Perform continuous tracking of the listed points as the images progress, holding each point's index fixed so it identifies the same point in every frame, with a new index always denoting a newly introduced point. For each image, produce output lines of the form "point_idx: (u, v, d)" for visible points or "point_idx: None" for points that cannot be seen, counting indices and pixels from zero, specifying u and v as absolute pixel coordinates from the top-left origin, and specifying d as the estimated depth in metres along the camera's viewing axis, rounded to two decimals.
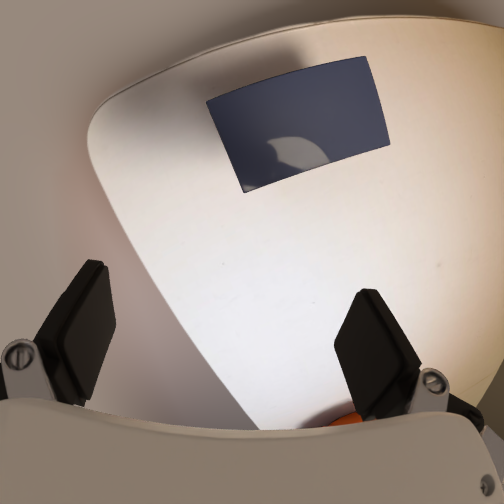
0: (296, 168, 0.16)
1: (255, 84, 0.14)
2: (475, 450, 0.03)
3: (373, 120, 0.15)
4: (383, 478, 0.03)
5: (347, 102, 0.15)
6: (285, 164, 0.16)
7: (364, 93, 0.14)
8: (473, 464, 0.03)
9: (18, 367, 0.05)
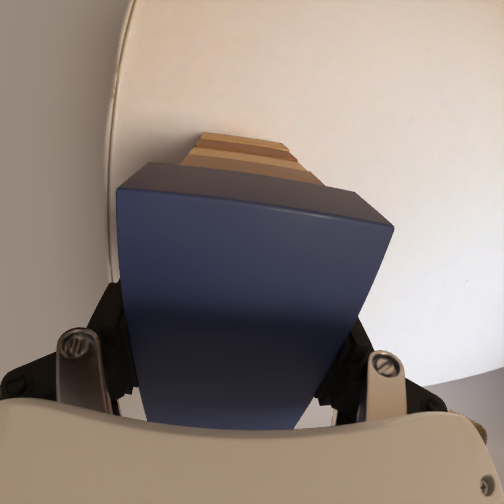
0: (304, 398, 0.09)
1: (142, 395, 0.08)
2: (475, 450, 0.03)
3: (311, 251, 0.06)
4: (383, 478, 0.03)
5: (232, 297, 0.06)
6: (288, 406, 0.09)
7: (226, 245, 0.06)
8: (473, 464, 0.03)
9: (74, 354, 0.06)
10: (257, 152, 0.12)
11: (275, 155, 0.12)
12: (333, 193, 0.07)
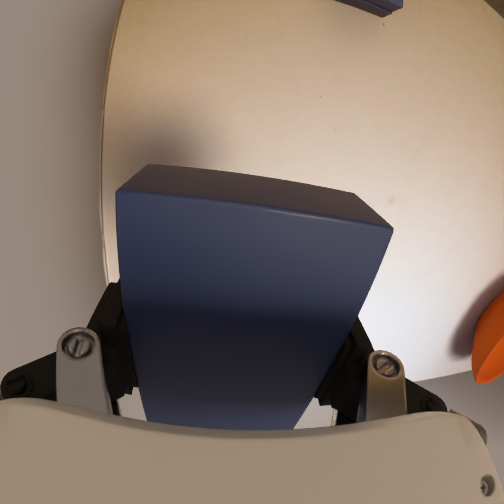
0: (303, 398, 0.09)
1: (142, 395, 0.08)
2: (475, 450, 0.03)
3: (310, 252, 0.06)
4: (383, 478, 0.03)
5: (231, 298, 0.06)
6: (287, 407, 0.09)
7: (225, 246, 0.06)
8: (473, 464, 0.03)
9: (73, 354, 0.06)
10: None
11: None
12: (332, 194, 0.07)
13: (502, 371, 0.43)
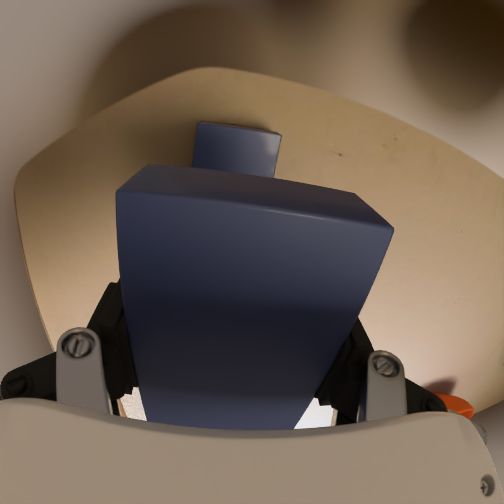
0: (303, 399, 0.09)
1: (142, 396, 0.08)
2: (475, 450, 0.03)
3: (311, 252, 0.06)
4: (383, 478, 0.03)
5: (232, 298, 0.06)
6: (288, 407, 0.09)
7: (226, 246, 0.06)
8: (473, 464, 0.03)
9: (74, 354, 0.06)
10: None
11: None
12: (333, 194, 0.07)
13: None
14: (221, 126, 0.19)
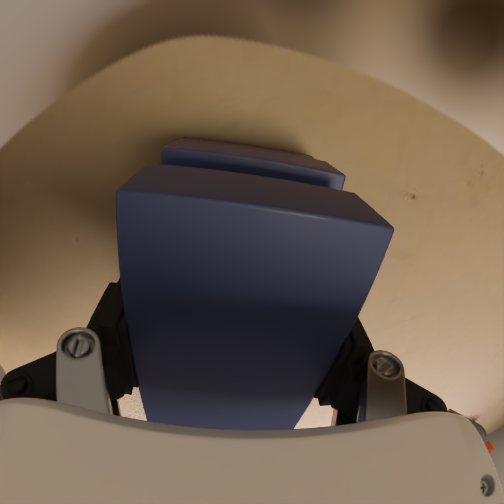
0: (303, 398, 0.09)
1: (142, 395, 0.08)
2: (475, 450, 0.03)
3: (310, 252, 0.06)
4: (383, 478, 0.03)
5: (232, 298, 0.06)
6: (287, 407, 0.09)
7: (226, 246, 0.06)
8: (473, 464, 0.03)
9: (73, 354, 0.06)
10: None
11: None
12: (333, 194, 0.07)
13: None
14: (215, 154, 0.08)
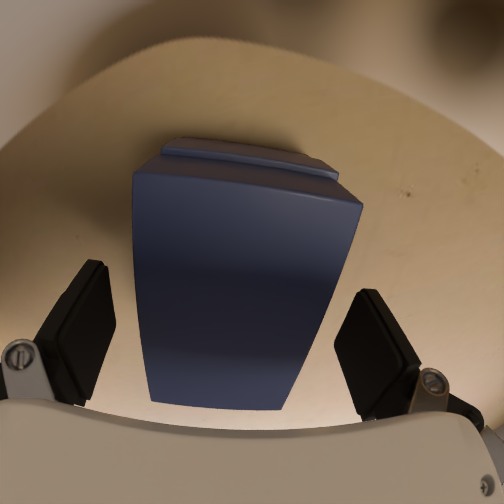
0: (293, 367, 0.10)
1: (146, 363, 0.10)
2: (475, 450, 0.03)
3: (291, 223, 0.07)
4: (383, 478, 0.03)
5: (226, 263, 0.08)
6: (278, 375, 0.10)
7: (221, 218, 0.07)
8: (473, 464, 0.03)
9: (18, 367, 0.05)
10: None
11: None
12: (313, 179, 0.09)
13: None
14: (212, 152, 0.09)
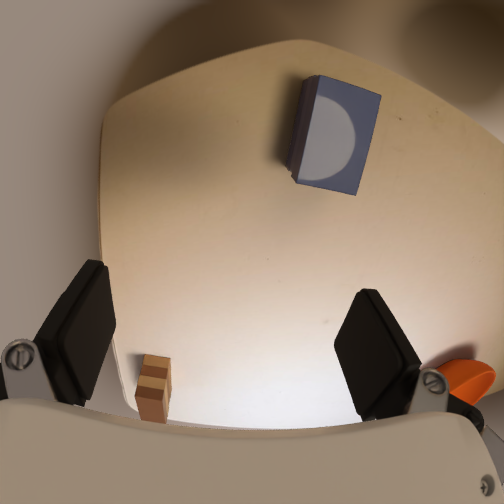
0: (362, 160, 0.24)
1: (304, 151, 0.23)
2: (475, 450, 0.03)
3: (361, 97, 0.21)
4: (383, 478, 0.03)
5: (343, 106, 0.21)
6: (356, 164, 0.24)
7: (343, 92, 0.21)
8: (473, 464, 0.03)
9: (18, 366, 0.05)
10: (155, 376, 0.41)
11: (160, 377, 0.41)
12: None
13: None
14: None
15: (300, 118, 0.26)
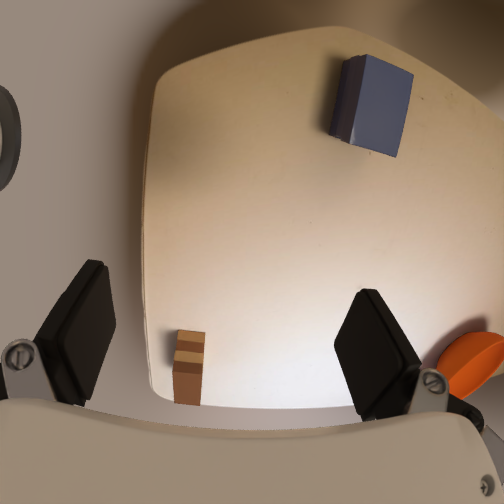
0: (400, 127, 0.25)
1: (355, 116, 0.25)
2: (475, 450, 0.03)
3: (399, 75, 0.22)
4: (383, 478, 0.03)
5: (385, 81, 0.23)
6: (396, 130, 0.25)
7: (385, 69, 0.22)
8: (473, 464, 0.03)
9: (18, 367, 0.05)
10: (192, 350, 0.42)
11: (197, 351, 0.42)
12: None
13: (463, 397, 0.56)
14: None
15: (345, 91, 0.27)
